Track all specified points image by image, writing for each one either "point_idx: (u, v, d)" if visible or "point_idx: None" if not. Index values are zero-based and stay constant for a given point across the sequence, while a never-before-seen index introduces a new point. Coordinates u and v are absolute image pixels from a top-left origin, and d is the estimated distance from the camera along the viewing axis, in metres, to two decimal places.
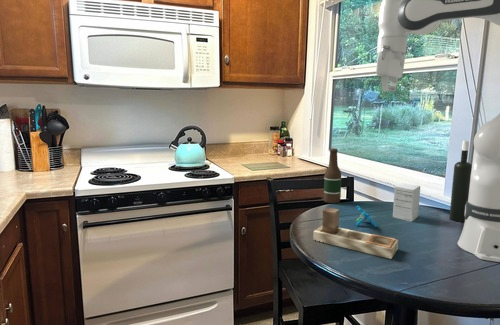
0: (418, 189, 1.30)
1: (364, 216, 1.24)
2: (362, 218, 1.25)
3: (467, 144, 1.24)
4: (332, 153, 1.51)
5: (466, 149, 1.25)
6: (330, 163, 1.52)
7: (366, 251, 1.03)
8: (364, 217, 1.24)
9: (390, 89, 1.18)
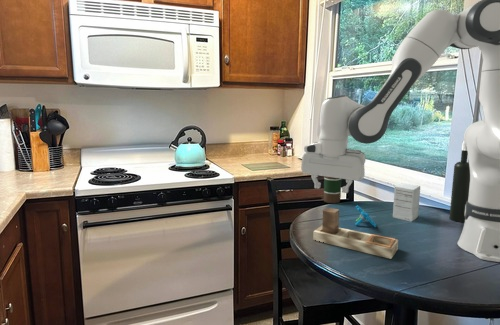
0: (418, 189, 1.30)
1: (363, 216, 1.25)
2: (361, 218, 1.25)
3: None
4: None
5: (466, 149, 1.25)
6: None
7: (366, 251, 1.03)
8: (363, 217, 1.24)
9: (318, 186, 1.13)
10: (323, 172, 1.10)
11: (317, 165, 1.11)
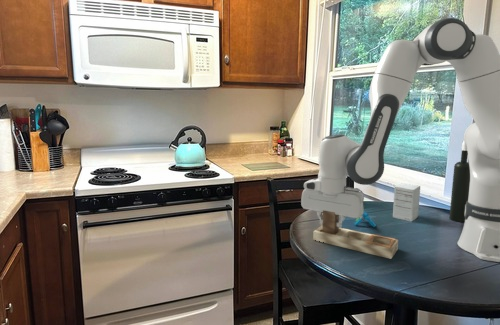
0: (418, 189, 1.30)
1: (363, 216, 1.25)
2: (361, 218, 1.25)
3: None
4: None
5: (466, 149, 1.25)
6: None
7: (366, 251, 1.03)
8: (363, 217, 1.25)
9: None
10: (323, 208, 1.12)
11: (317, 201, 1.13)
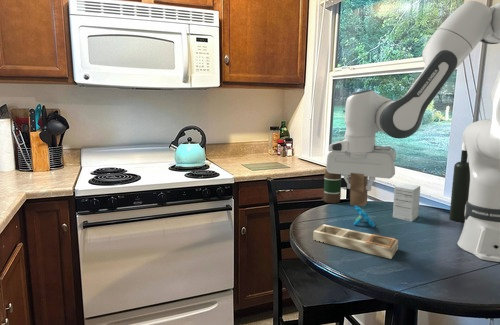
0: (418, 189, 1.30)
1: (362, 216, 1.25)
2: (360, 218, 1.25)
3: None
4: None
5: (466, 149, 1.25)
6: None
7: (366, 251, 1.03)
8: (362, 217, 1.25)
9: None
10: (350, 171, 1.05)
11: (343, 164, 1.06)
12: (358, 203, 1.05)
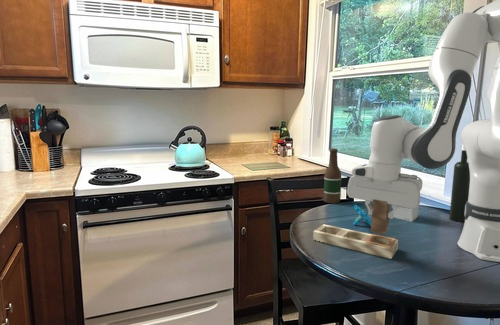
0: None
1: (361, 216, 1.25)
2: (359, 218, 1.25)
3: None
4: (332, 153, 1.51)
5: None
6: (330, 163, 1.52)
7: (366, 251, 1.03)
8: (361, 217, 1.25)
9: None
10: (373, 197, 1.02)
11: (366, 189, 1.03)
12: (379, 231, 1.02)
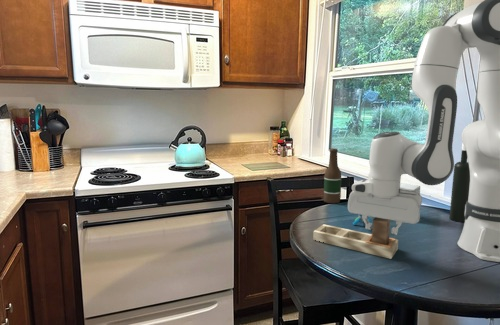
0: (418, 189, 1.30)
1: (361, 216, 1.25)
2: (359, 217, 1.25)
3: None
4: (332, 153, 1.51)
5: None
6: (330, 163, 1.52)
7: (366, 251, 1.03)
8: (361, 217, 1.25)
9: (370, 227, 1.05)
10: (373, 213, 1.03)
11: (366, 205, 1.03)
12: None
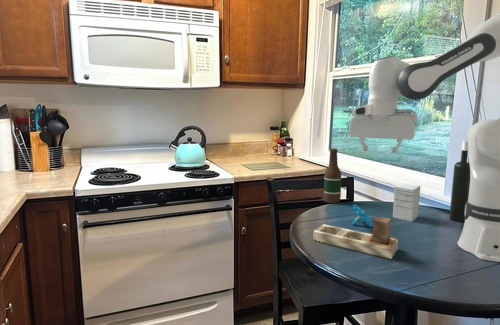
0: (418, 189, 1.30)
1: (360, 215, 1.25)
2: (358, 217, 1.25)
3: (467, 144, 1.24)
4: (332, 153, 1.51)
5: (466, 149, 1.25)
6: (330, 163, 1.52)
7: (366, 251, 1.03)
8: (360, 216, 1.25)
9: (367, 149, 1.15)
10: (372, 134, 1.12)
11: (366, 127, 1.13)
12: None
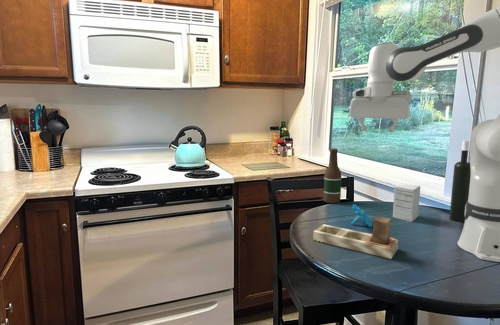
0: (418, 189, 1.30)
1: (359, 215, 1.25)
2: (357, 217, 1.25)
3: (467, 144, 1.24)
4: (332, 153, 1.51)
5: (466, 149, 1.25)
6: (330, 163, 1.52)
7: (366, 251, 1.03)
8: (359, 216, 1.25)
9: (365, 128, 1.25)
10: (371, 114, 1.22)
11: (365, 108, 1.23)
12: None
